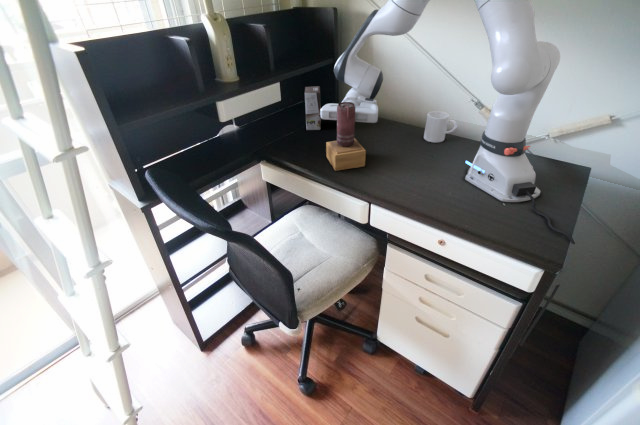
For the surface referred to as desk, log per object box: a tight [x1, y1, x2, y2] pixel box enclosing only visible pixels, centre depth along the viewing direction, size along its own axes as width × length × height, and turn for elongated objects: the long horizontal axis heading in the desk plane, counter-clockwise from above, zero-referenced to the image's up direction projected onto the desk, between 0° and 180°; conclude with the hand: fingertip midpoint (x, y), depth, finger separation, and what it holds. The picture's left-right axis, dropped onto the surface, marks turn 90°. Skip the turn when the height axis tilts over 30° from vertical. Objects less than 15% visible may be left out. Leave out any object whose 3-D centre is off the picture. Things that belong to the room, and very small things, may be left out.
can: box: [336, 101, 356, 147], centre depth 111 cm, size 6×6×14 cm
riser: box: [325, 137, 367, 172], centre depth 117 cm, size 11×11×6 cm
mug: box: [423, 110, 459, 143], centre depth 128 cm, size 8×12×10 cm
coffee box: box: [304, 85, 322, 131], centre depth 141 cm, size 9×6×16 cm
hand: (345, 121), depth 109 cm, fingers closed
